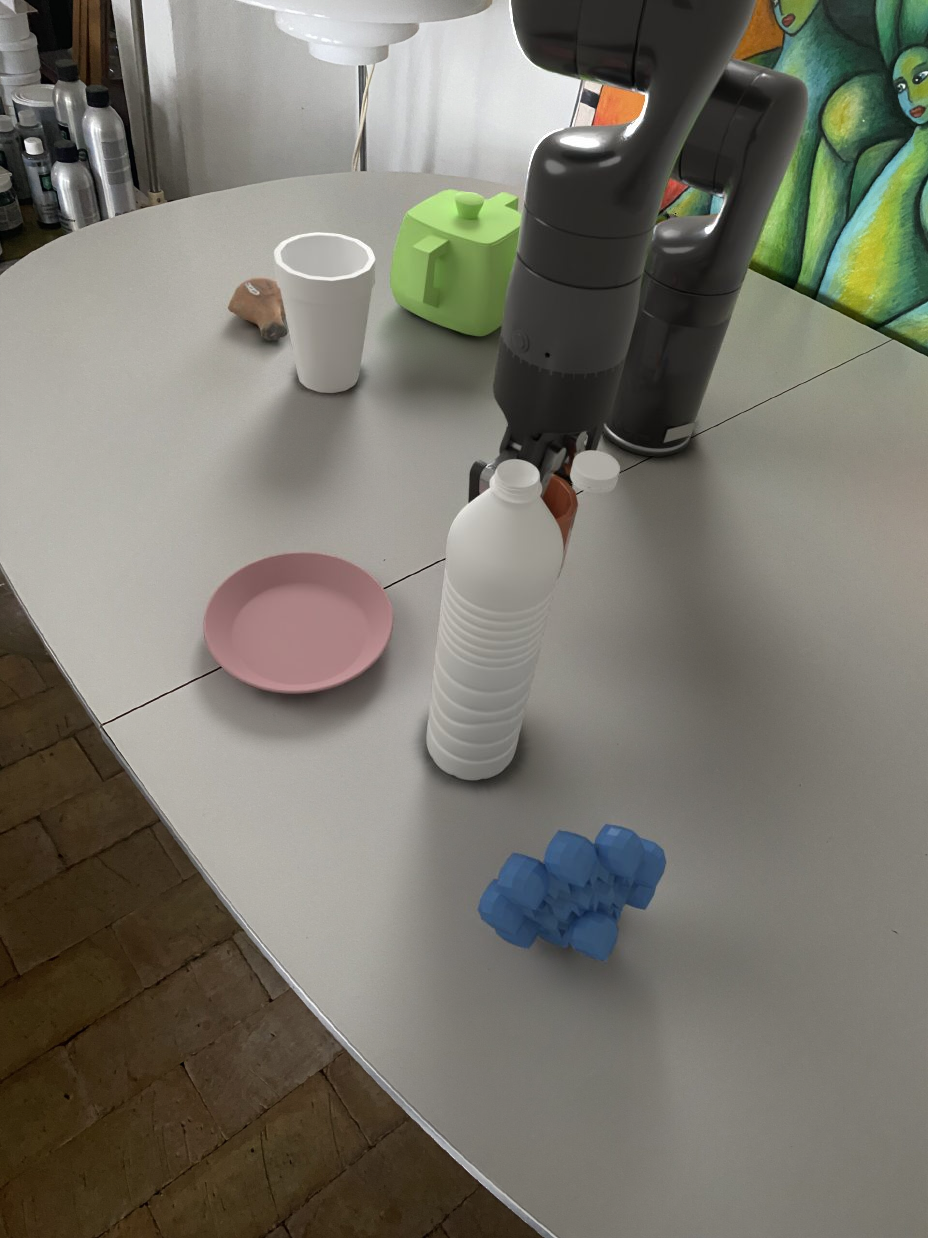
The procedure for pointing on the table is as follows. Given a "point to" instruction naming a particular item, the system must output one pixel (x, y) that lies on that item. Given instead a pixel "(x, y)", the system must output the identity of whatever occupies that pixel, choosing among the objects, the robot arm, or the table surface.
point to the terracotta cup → (562, 507)
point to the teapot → (457, 259)
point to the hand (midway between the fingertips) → (524, 541)
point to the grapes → (574, 890)
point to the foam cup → (326, 305)
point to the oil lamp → (260, 306)
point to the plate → (298, 622)
